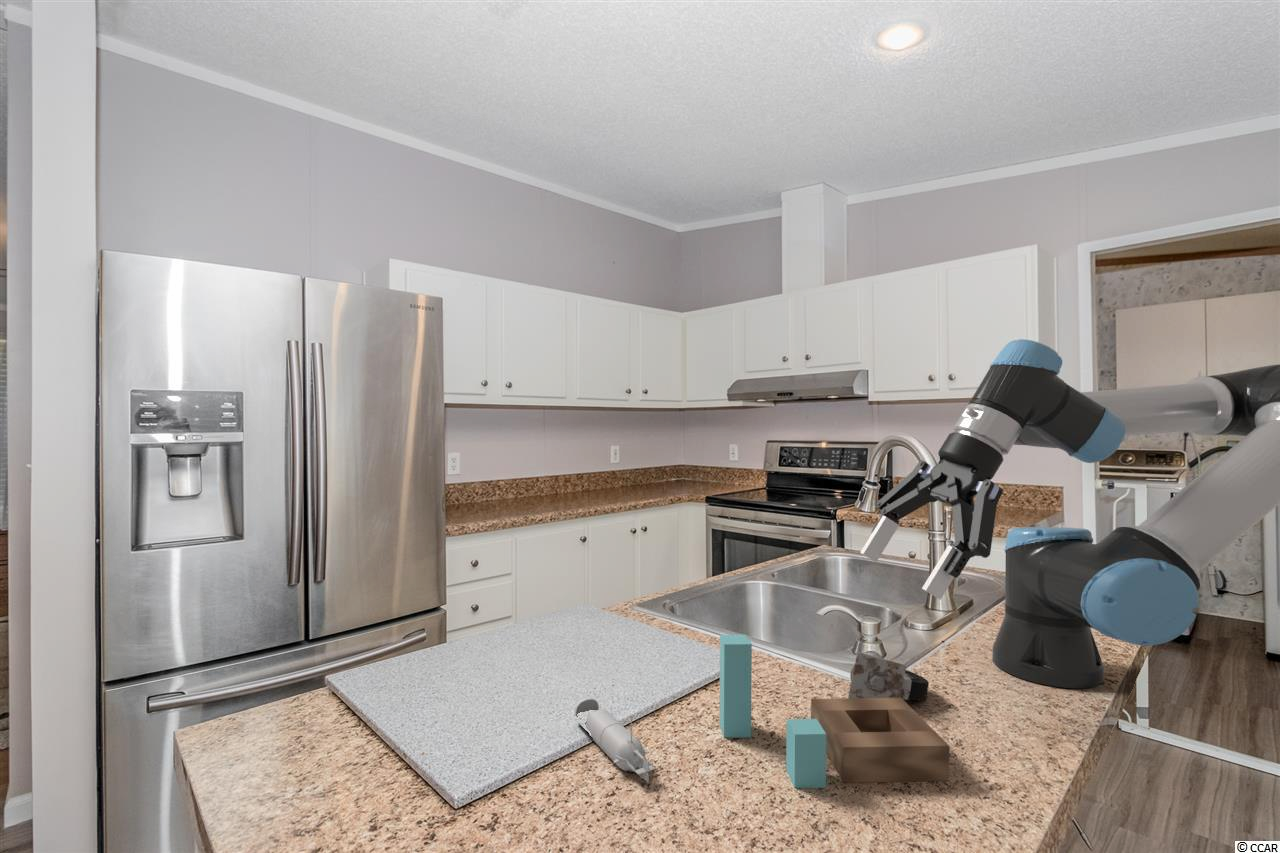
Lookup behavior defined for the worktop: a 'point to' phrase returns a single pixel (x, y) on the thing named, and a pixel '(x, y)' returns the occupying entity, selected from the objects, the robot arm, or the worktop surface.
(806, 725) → the short pin
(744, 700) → the long pin
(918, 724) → the hole block
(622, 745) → the torpedo
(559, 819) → the worktop surface
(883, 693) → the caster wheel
